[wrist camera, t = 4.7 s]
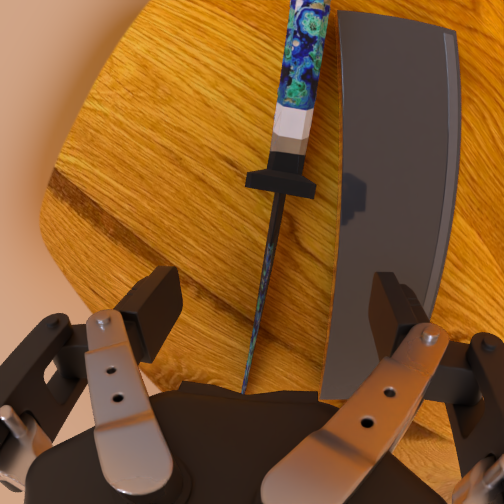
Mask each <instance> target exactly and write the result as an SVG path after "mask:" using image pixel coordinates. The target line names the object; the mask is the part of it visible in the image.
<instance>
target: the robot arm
mask: <svg viewBox="0 0 504 504" xmlns="http://www.w3.org/2000/svg"><path fill="white" fill-rule="evenodd" d="M182 306H183V299H182V293H181V287H180V281H179V274H178V270H177V268H176V267H175V266H157V267H156V269H155V270H154V271H153V272H152V273H151V274H150V275H149V276H147V277H145V278H143V279H142V280H140V281H138V282H137V283H136V284H135V285H134V286H133V287H132V290H130V291H129V292H128V293H127V295H125V296H124V297H123V299H122V300H121V301H120V302H119V303H118V304H117V305H116V306H115V308H114V309H113V310H112V309H108V310H102V311H99V312H96V313H95V314H93V315H91V316H90V317H89V318H88V320H87V322H86V324H78V325H71V323H70V320H69V317H68V316H67V315H66V314H63V313H56V314H52V315H50V316H47V317H46V318H44V319H43V320H42V321H41V322H40V323H39V324H38V325H37V326H36V327H35V328H34V329H33V330H32V331H31V332H30V333H29V334H28V335H27V337H26V338H25V339H24V340H23V341H22V342H21V343H20V344H19V345H18V346H17V348H16V349H15V350H14V351H13V352H12V353H11V354H10V355H9V357H8V358H7V359H6V360H5V361H4V362H3V364H2V365H1V366H0V482H1V483H2V484H3V485H5V486H6V487H7V488H8V489H9V490H11V491H13V492H22V491H24V492H25V499H24V504H447V503H446V501H445V500H444V499H443V498H442V497H441V496H440V495H439V494H437V493H436V492H435V491H434V490H433V489H431V488H430V487H429V486H428V485H427V484H426V483H424V482H423V481H422V480H421V479H420V478H419V477H418V476H416V475H415V474H414V473H413V472H412V471H411V470H410V469H408V468H407V467H406V466H405V465H404V464H403V463H402V462H401V461H399V460H398V459H397V458H396V457H395V456H394V455H393V454H392V453H393V451H394V450H395V448H396V447H397V445H398V443H399V442H400V440H401V438H402V437H403V435H404V434H405V432H406V430H407V429H408V427H409V425H410V424H411V422H412V421H413V419H414V417H415V415H416V414H417V412H418V410H419V409H420V407H421V405H422V403H423V401H424V399H425V400H431V401H437V402H444V403H445V406H446V409H447V413H448V417H449V421H450V425H451V429H452V433H453V437H454V442H455V446H456V451H457V456H458V461H459V466H460V471H461V477H462V479H461V480H460V481H459V482H458V483H457V485H456V486H455V488H454V490H453V494H452V504H504V343H503V341H502V340H501V339H500V338H498V337H497V336H495V335H493V334H490V333H485V332H481V333H477V334H475V335H474V336H473V337H472V339H471V342H470V344H466V343H459V342H454V341H450V340H449V335H448V333H447V332H446V331H445V330H444V329H443V328H442V327H440V326H438V325H435V324H432V323H431V322H430V321H429V319H428V317H427V315H426V313H425V311H424V309H423V307H422V306H421V304H420V302H419V300H417V296H416V294H415V293H414V291H413V290H412V289H411V288H409V287H408V286H407V285H406V284H399V282H398V280H397V278H396V276H395V274H394V272H375V273H374V276H373V282H372V288H371V295H370V301H369V308H368V318H369V323H370V327H371V330H372V334H373V338H374V342H375V346H376V350H377V354H378V358H379V362H380V363H379V364H378V365H377V366H376V368H375V369H374V370H373V371H372V372H371V374H370V375H369V376H368V377H367V378H366V380H365V381H364V382H363V383H362V384H361V386H360V387H359V388H358V389H357V390H356V391H355V393H354V394H353V395H352V396H351V397H350V398H349V399H348V400H347V402H346V403H345V404H344V405H343V406H342V407H341V408H340V409H339V408H337V407H335V406H332V405H330V404H326V403H323V402H319V401H318V391H285V390H283V391H276V392H268V393H260V394H252V395H245V394H241V393H238V392H235V391H231V390H228V389H225V388H222V387H219V386H216V385H211V384H203V383H195V382H188V381H182V383H181V385H180V387H179V390H172V391H166V392H162V393H158V394H156V395H152V396H150V397H149V395H148V392H147V390H146V387H145V384H144V381H143V379H142V376H141V373H140V370H139V367H138V365H139V363H140V362H145V363H151V364H152V362H153V361H154V359H155V357H156V355H157V354H158V352H159V350H160V348H161V347H162V345H163V343H164V341H165V340H166V338H167V336H168V334H169V333H170V331H171V329H172V327H173V326H174V324H175V322H176V320H177V319H178V317H179V315H180V314H181V311H182ZM52 360H53V362H54V364H55V365H56V367H57V371H56V372H55V374H54V375H53V376H52V378H51V379H50V381H49V382H48V383H47V385H46V383H45V381H44V371H45V369H46V368H47V366H48V365H49V364H50V362H51V361H52ZM87 384H88V386H89V392H90V398H91V404H92V410H93V415H94V421H95V426H94V427H92V428H90V429H88V430H86V431H84V432H82V433H80V434H78V435H76V436H74V437H72V438H70V439H68V440H66V441H64V442H62V443H60V444H58V445H56V446H54V447H53V446H52V443H53V441H54V440H55V438H56V436H57V434H58V432H59V431H60V429H61V427H62V426H63V424H64V422H65V420H66V419H67V417H68V415H69V414H70V412H71V410H72V408H73V407H74V405H75V403H76V402H77V400H78V398H79V397H80V395H81V394H82V392H83V390H84V389H85V387H86V385H87ZM482 396H483V397H482ZM483 399H484V400H483Z"/></svg>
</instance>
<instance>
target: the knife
mask: <svg viewBox="0 0 504 504" xmlns="http://www.w3.org/2000/svg"><path fill="white" fill-rule="evenodd" d="M330 2H331V0H291V1H290V13H289V20H288V27H287V35H286V42H285V49H284V56H283V63H282V70H281V77H280V84H279V88H278V92H277V94H278V99H277V106H276V113H275V115H274V127H273V134H272V141H271V148H270V154H269V160H268V165H267V169H264V170H258V171H252V172H247V177H246V183H245V187H248V188H254V189H260V190H266V191H271V192H275V194H274V200H273V206H272V212H271V218H270V224H269V230H268V236H267V242H266V248H265V254H264V261H263V267H262V274H261V280H260V287H259V293H258V300H257V306H256V312H255V319H254V325H253V331H252V337H251V342H250V350H249V354H248V361H247V364H246V370H245V376H244V380H243V385H242V392H241V394H245V391H246V387H247V382H248V375H249V371H250V367H251V362H252V357H253V352H254V348H255V344H256V339H257V335H258V330H259V326H260V321H261V317H262V312H263V308H264V303H265V298H266V294H267V289H268V285H269V280H270V275H271V271H272V266H273V261H274V256H275V252H276V246H277V241H278V236H279V230H280V225H281V220H282V214H283V209H284V203H285V197H286V194H288V195H293V196H299V197H304V198H309V199H314V196H315V190H316V184H315V183H313V182H312V181H310V180H308V179H307V178H305V177H304V176H302V171H303V166H304V160H305V154H306V148H307V143H308V138H309V132H310V127H311V124H312V115H313V110H314V104H315V101H316V96H317V93H316V92H317V86H318V80H319V74H320V68H321V62H322V56H323V49H324V43H325V36H326V30H327V23H328V16H329V14H330Z"/></svg>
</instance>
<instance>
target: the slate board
mask: <svg viewBox="0 0 504 504" xmlns="http://www.w3.org/2000/svg"><path fill="white" fill-rule="evenodd" d="M334 24H335V37H336V53H337V72H338V102H339V170H338V201H337V222H336V239H335V253H334V266H333V278H332V289H331V299H330V308H329V317H328V326H327V334H326V342H325V350H324V357H323V364H322V371H321V378H320V384H319V399H349V398H350V397H351V396H352V395H353V394H354V393H355V391H356V390H357V389H358V388H359V387H360V386H361V384H362V383H363V382H364V381H365V380H366V378H367V377H368V376H369V375H370V374H371V372H372V371H373V370H374V369H375V368H376V366H377V365H378V364H379V363H380V362H379V358H378V354H377V350H376V346H375V342H374V338H373V334H372V330H371V327H370V323H369V318H368V308H369V301H370V295H371V288H372V282H373V276H374V273H375V272H394V274H395V276H396V278H397V280H398V282H399V284H406V285H407V286H408V287H409V288H411V289H412V290H413V291H414V293H415V294H416V296H417V300H419V302H420V304H421V306H422V307H423V309H424V311H425V313H426V315H427V317H428V319H429V321H430V319H431V315H432V312H433V308H434V305H435V301H436V297H437V294H438V290H439V286H440V282H441V278H442V273H443V269H444V265H445V260H446V255H447V250H448V245H449V240H450V234H451V228H452V222H453V216H454V209H455V201H456V193H457V184H458V174H459V162H460V145H461V81H460V65H459V54H458V44H457V36H456V31H454V30H451V29H447V28H443V27H440V26H436V25H432V24H427V23H423V22H418V21H414V20H409V19H404V18H398V17H392V16H386V15H379V14H372V13H364V12H355V11H344V10H337V12H336V15H335V17H334Z"/></svg>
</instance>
